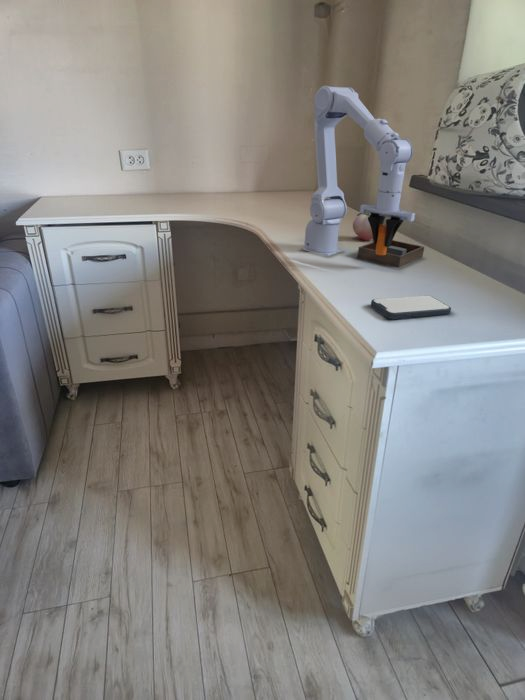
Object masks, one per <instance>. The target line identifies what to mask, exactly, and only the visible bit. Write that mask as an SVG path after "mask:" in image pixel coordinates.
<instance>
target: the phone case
mask: <svg viewBox="0 0 525 700" xmlns="http://www.w3.org/2000/svg"><path fill="white" fill-rule="evenodd" d="M370 307H372V308H373V309H374V310H376V311H377V312H378V313H380V314H381V315H382V316H384V317H385V318H387V319H390V320H396V319H409V318H419V317H429V316H430V317H431V316H433V317H434V316H442V315H443V316H444V315H449V314H451V311H452V307H451V306H450V305H448V304H446V303H444V302H443V301H441V300H439V299H437V298H435V297H433V296H432V295H415V296H414V295H413V296H400V297H399V296H398V297H387V298H386V297H385V298H374V299H371V301H370Z"/></svg>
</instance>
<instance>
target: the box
mask: <svg viewBox="0 0 525 700" xmlns="http://www.w3.org/2000/svg"><path fill="white" fill-rule="evenodd" d="M376 245H377V244H373V241H372V242H370V243H366V244H364V245H361V246H358V251H357V258H358V259H361V260H362V259H363V260H366V261H371V262H375V263H379V264H383V265H387V266H390V267H395V268H401V267H403V266H405V265H408V264H410V263H412V262H414V261H416V260H419V259H421V258H423V256H424V252H425V246H422V245H417V244H413V243H408V242H403V241H399V240H396V239H395V240H394V239H393V240H392V243H391V245H390V246H395V247H400V248H404V249H407V250H406V254H403V255H401V256H398V255H393V254H389V253H387V251H386V255H377V254H375V252H376ZM388 247H389V246H388Z"/></svg>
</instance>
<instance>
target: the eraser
mask: <svg viewBox="0 0 525 700" xmlns="http://www.w3.org/2000/svg"><path fill="white" fill-rule="evenodd" d="M406 250H407V249H404V248H400V247H395V246H389V247H387V253H389V254H393V255H398V256H401V255H403V254H406Z"/></svg>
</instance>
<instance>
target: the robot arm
mask: <svg viewBox="0 0 525 700" xmlns="http://www.w3.org/2000/svg"><path fill="white" fill-rule="evenodd" d="M313 109H314V110H313V111H314V112H313V113H314V124H313V125H314V139H315V140H314V143H315V157H316V173H317V190H315V192H314V193H313V194H312V195H311V197H310V198H311V201H310V202H311V203H310V207H309V214H310V217H311V220H309V221H308V222H307V224H306V227H305V231H304V232H305V234H304V235H305V236H304V246H303V248H302V251H305V252H312V253H317V254H320V255H324V256H331V255H335V254H337V253H340V252H343V249H341V248H338V242H339V233H340V232H339V231H340V223H342V219H344V218H345V216H346V215H347V211H348V207H347V206H348V205H347V202H346V200H345V193H344V192H343V190H342V189H341V188H340V187H338V173H337V153H336V135H335V134H336V133H335V132H336V131H335V127H336V126H337V125H338V123H340V122H341V121H342V120H343V119H344V118H345V117H347V116H349V117H350V118H351V119H352V120H353V121H354V122H355V123H356V124H357V125H359V126H360V127H361V128H362V130H364V131H363V136H364V137H363V138H365V140H366V141H367V142H368V143H369V144H370V145H371V146H372V147H373V149H374V150H375V151H376V152H377V159H378V161H379V171H380V175H379V182H378V183H379V184H378V190H377V191H378V192H377V198H376V205H373V204H366V203H365V204H361V205H360V208H359V213H368V214H371V215H370V216H369V217H368V221H369V224H370V226H371V230H372V235H373V239H372V242H373V244H377V238H378V228H379V225H380V224H384V222H385V224H386V238H385V246H386V247H388V246H390V245H391V243H392V240H394V238H395V235H396V233H397V232H398V230H399V229H400V227H401V226H402V224H403V223H404V221H406V222H407V223H408V222H409V223H411V222H414V221H415V217H416V212H411V211H407V210H404V209H400V203H401V197H402V192H403V191H402V190H403V185H404V179H405V171H406V166H407V163H409V162H410V160H411V159H412V157H413V154H414V149H413V145H412V143H411V141H410V139H409V138H401V137H400V134H399V133H398V132H395V131H394V130H393V129H392V128H391V127H390V126H389V125H388V123H389V122H388V120H387V119H384V118H383V119H382V118H375V117H374V115H372V113H371V112H370V111H369V109H367V107H366V106H365V104H364V103H363V102H362V101H361V99H360V98H359V93H358V92H356V91H355V90H354V88H352V87H351V86H346V87H342V86H328V85H322V86H321V87H320V88H319V89H318V90H317V92H316V94H315V95H314V97H313ZM386 217H387V219H386Z"/></svg>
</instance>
